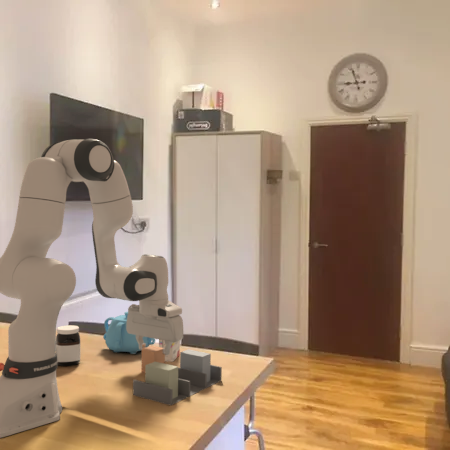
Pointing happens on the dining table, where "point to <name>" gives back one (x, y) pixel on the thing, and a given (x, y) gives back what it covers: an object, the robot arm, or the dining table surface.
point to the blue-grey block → (196, 361)
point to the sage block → (162, 376)
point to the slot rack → (187, 386)
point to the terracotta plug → (152, 356)
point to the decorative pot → (122, 336)
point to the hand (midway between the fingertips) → (154, 351)
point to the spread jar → (68, 345)
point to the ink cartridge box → (171, 350)
